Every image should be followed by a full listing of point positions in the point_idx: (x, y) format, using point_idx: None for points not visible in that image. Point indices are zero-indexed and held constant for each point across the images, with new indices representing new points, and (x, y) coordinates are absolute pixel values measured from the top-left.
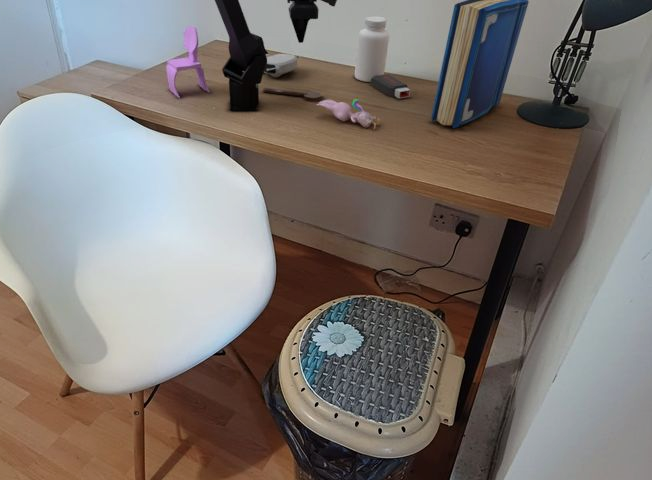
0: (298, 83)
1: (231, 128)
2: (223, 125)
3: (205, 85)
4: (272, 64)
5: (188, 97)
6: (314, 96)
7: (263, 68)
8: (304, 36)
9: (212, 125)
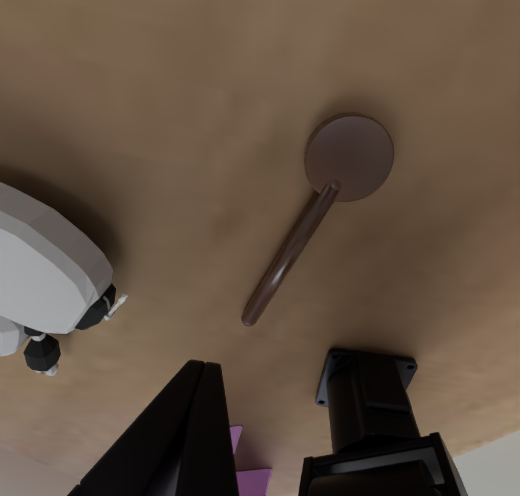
0: (150, 183)
1: (511, 419)
2: (480, 429)
3: (234, 448)
4: (86, 311)
5: (268, 457)
6: (375, 157)
7: (458, 487)
8: (227, 413)
9: (468, 444)
